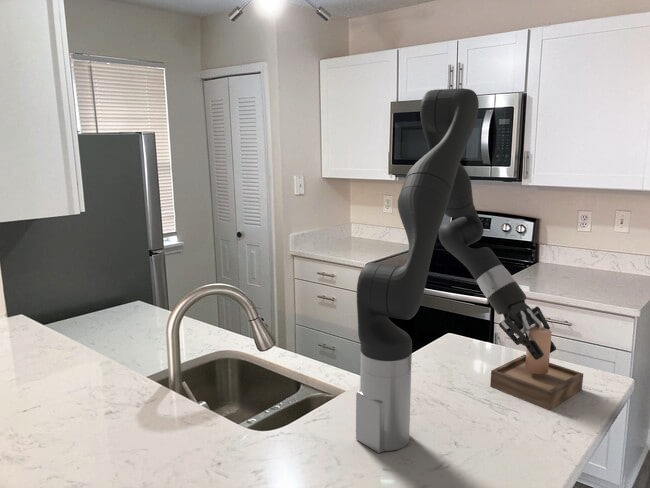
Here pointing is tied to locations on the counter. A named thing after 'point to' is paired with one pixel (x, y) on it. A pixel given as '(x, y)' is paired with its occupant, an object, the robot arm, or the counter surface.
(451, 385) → the counter surface
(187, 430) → the counter surface
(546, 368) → the tan cylinder
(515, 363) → the square brown tray
